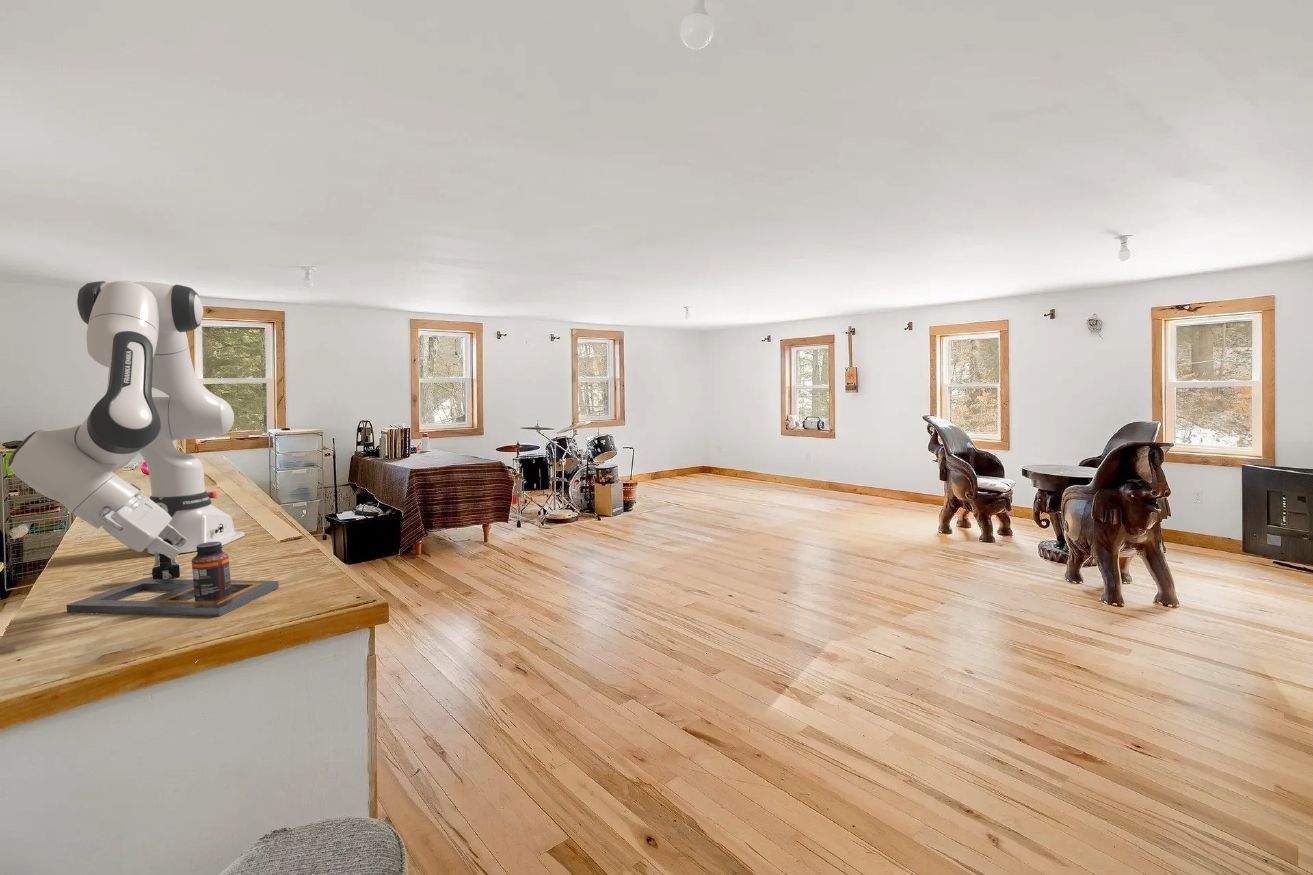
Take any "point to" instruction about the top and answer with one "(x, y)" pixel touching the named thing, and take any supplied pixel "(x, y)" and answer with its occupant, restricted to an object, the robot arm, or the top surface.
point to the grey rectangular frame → (170, 598)
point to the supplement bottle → (211, 572)
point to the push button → (164, 565)
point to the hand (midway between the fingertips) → (180, 549)
